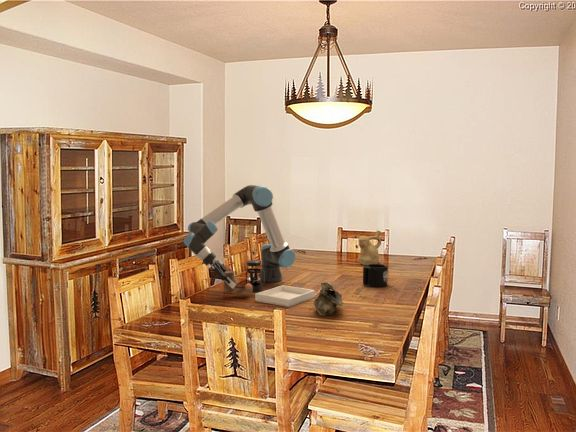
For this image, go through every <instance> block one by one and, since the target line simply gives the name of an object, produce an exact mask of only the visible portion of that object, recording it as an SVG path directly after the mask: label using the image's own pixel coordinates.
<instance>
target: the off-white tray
mask: <svg viewBox="0 0 576 432" xmlns="http://www.w3.org/2000/svg"><path fill="white" fill-rule="evenodd" d="M254 294H255V298H254V299H255V302H258V303H265V304H270V305H276V306H282V307H286V308H291V307H293V306H295V305H298V304H301V303H304V302H306V301H309V300H311V299H314V298H316V290H314V289H310V288H303V287H297V286H290V285H284V284H282V285H279V286H275V287H273V288H269V289H266V290H263V291H258V292H255V293H254Z"/></svg>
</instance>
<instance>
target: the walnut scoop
mask: <svg viewBox="0 0 576 432" xmlns="http://www.w3.org/2000/svg"><path fill="white" fill-rule="evenodd" d="M235 273H236V272H235V270H229V271H225V273H224V274H225V275H226V276H227V277H229V278H230V279H231V280H232V281H233V282H234V283H235V279H236V278H235V277H236V276H235V275H236V274H235ZM223 284H224V285H223V286H224V291H223V293H232V294H250V295H252V293H253V292H252V291H253V286H252V289H245V285H236V286H235V287H234V288H233V289H232V288H231V287H230V286H229V285H228V284H227V283H226V282H225V281H223Z"/></svg>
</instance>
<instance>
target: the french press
mask: <svg viewBox="0 0 576 432" xmlns="http://www.w3.org/2000/svg"><path fill="white" fill-rule="evenodd" d="M249 252H250V253H252V258H253V259H251V260H249V259H248V260H246V261H245V263H246V266H249V268H246V270H245V285H246V284H247V283H248V282H249V283H250V284H251V285H252V286H253V291H252V293H253V292H255V293H257V292H262V290H263V289H262V287H263V286H265V282H264V270H261V268H257V267H259V266H261V260H256V259H255V253H258V251H256V250H251V251H249ZM250 267H251V268H250ZM255 267H256V268H255ZM261 271H263V281H261ZM248 274H249V277H248ZM258 274H260V278H259V277H258Z"/></svg>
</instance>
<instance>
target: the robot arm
mask: <svg viewBox="0 0 576 432" xmlns="http://www.w3.org/2000/svg"><path fill="white" fill-rule="evenodd" d="M273 199H274V196H273V192H272V190H271V189H270V188H269V187H267V186H265V185H254V184H250V185H246V186H245V187H243V188H241V189H239V190H238V191H236V192H235V193H233V194H232V197H230V198H229V199H228V200H226V201H225V202H223V203H222V204H221V205H219V206H218V207H216V208H215V209H213V210H212V211H211V212H209V213H208V214H206V215H205V216H203V217H202V218H200V219H199V220H197V221H193V222H191V223H189V224H188V227H187V231H188V233H189V234H187V236H185V238H184V239H183V243H184V245H185V246H186V247H187V248H188V249H189V250H190V251H191V252H192V253H193V254H194V255H196V258H197V259H200V260H201V261H202V263H203V264H204V265H205V266H207V267H208V266H209V265H210V267H209V268H210V269H211V270H212V271H213V272H214V273H215V274H216V275H217V276H218V277H219V279H220V280H221V281H222V282H224V281H225V282H226V283H227V284H228V285H229V286H230V287H231V288H232V289H233V288H234V287H235V286H237V284H238V283H239V280H238V279H236V278H235V283H234V282H233V281H232V280H231V279H230V278H229V277H227V276H226V275H225V274H224V273H225V271H230V270H229V269H228V268H227V267H226V266H224V264H222V262H220V260H218V259H217V260H216V259H215V258H216V257H217V256H216V254H215V253H214V252H212V250H211V249H209V247H208V246H207V245H206V244H205V243H207V242H208V241H209V240H210V238H212V237H213V236H214V235H215V234H216V233H217V232H218V227H217V224H218V223H219V222H221V221H223V220H224V219H225V218H227V217H228V216H230V215H231V214H233V213H234V212H235V211H236V210H238V209H240V208H241V209H242V208H244V207H246V206H249V205H251V206H252V208H253V211H254V212H256V213H257V214H258V216H259V219H260V221H261V224H262V227H263V229H264V231H265V234H266V237H267V240H268V242H269V243H267V244H263V245H261V250H260V252H261V259H260V261H261V263H260V266H261V267H260V269H261V270H264V283H265V282H266V283H276V282H281V281H283V274H282V271H281V268H283V269H284V268H285V269H288V268H290V267H292V266H293V265H294V263H295V261H296V253H295V251H294V250H293V249H291V248H290V245H289V244H288V242H286V241H285V239H284V237H283V235H282V233H281V230H280V227H279V224H278V222H277V219H276V217H275V214H274V211H273V209H272V207H273ZM258 278H260V273H258ZM261 282H263V271H261Z"/></svg>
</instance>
